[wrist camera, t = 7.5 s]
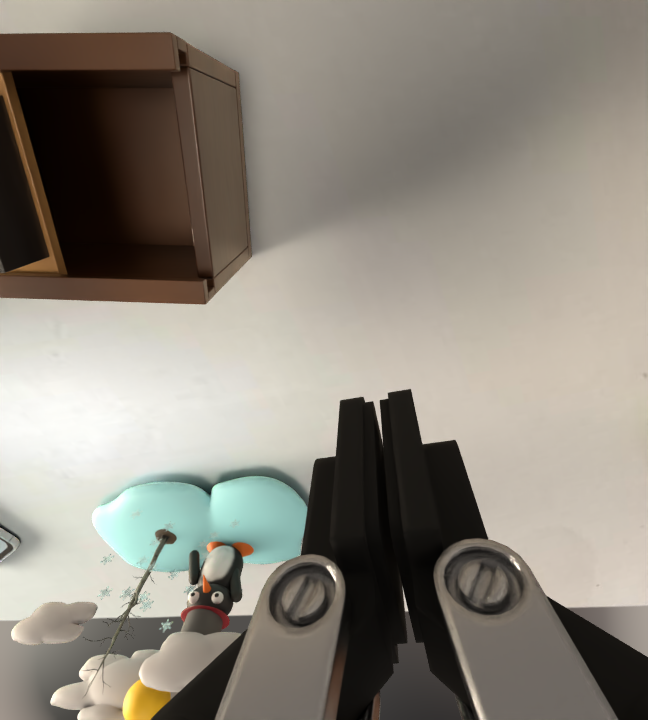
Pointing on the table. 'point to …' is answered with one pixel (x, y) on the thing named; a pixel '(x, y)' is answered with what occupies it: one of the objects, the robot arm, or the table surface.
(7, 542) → the smartphone
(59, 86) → the box
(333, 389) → the table surface
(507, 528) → the table surface
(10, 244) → the lid
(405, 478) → the robot arm
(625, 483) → the table surface
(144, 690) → the penguin figurine
